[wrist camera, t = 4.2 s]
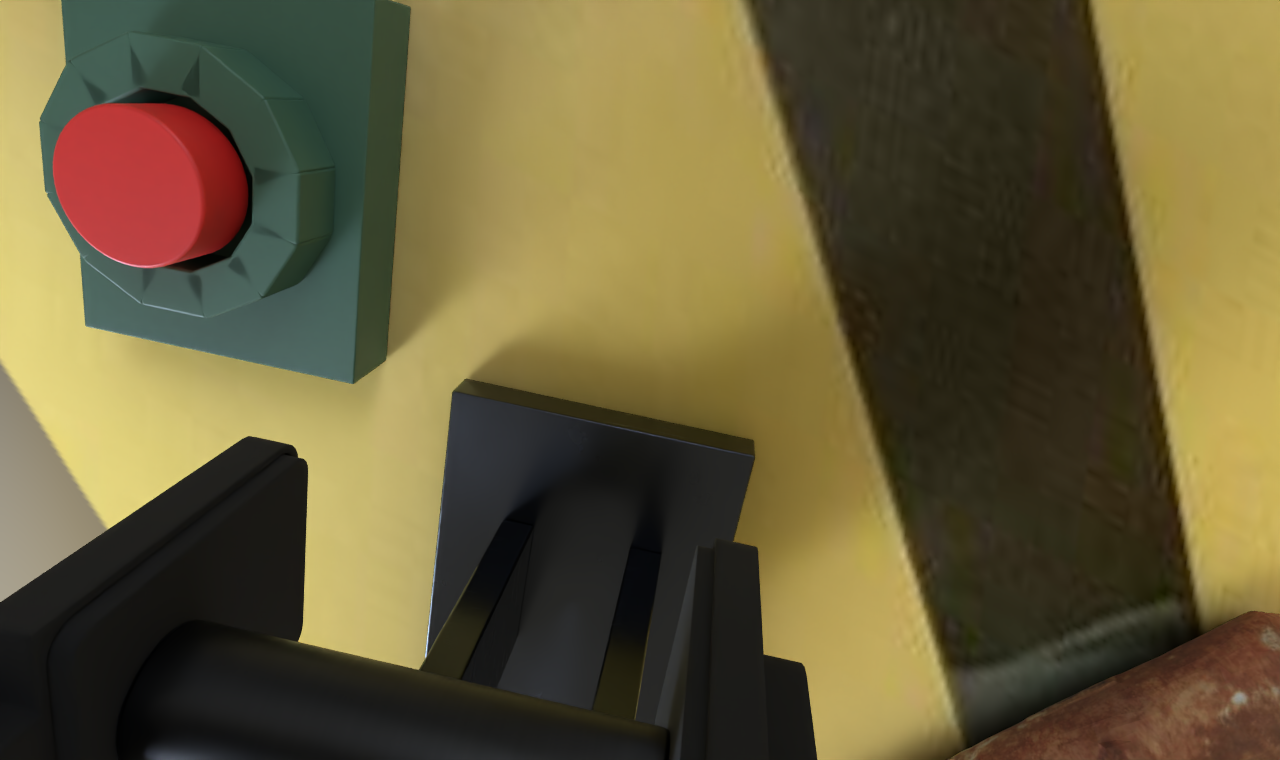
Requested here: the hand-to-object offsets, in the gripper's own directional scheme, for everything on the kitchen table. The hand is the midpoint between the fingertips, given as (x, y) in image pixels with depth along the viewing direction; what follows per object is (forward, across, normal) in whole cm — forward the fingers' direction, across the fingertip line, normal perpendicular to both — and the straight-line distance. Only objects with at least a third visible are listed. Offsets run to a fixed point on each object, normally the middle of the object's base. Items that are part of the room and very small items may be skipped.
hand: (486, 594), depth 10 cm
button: (+10, +11, -2) cm, 15 cm away
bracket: (+13, 0, +9) cm, 16 cm away
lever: (+1, 0, +4) cm, 4 cm away
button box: (+13, +11, -2) cm, 17 cm away
